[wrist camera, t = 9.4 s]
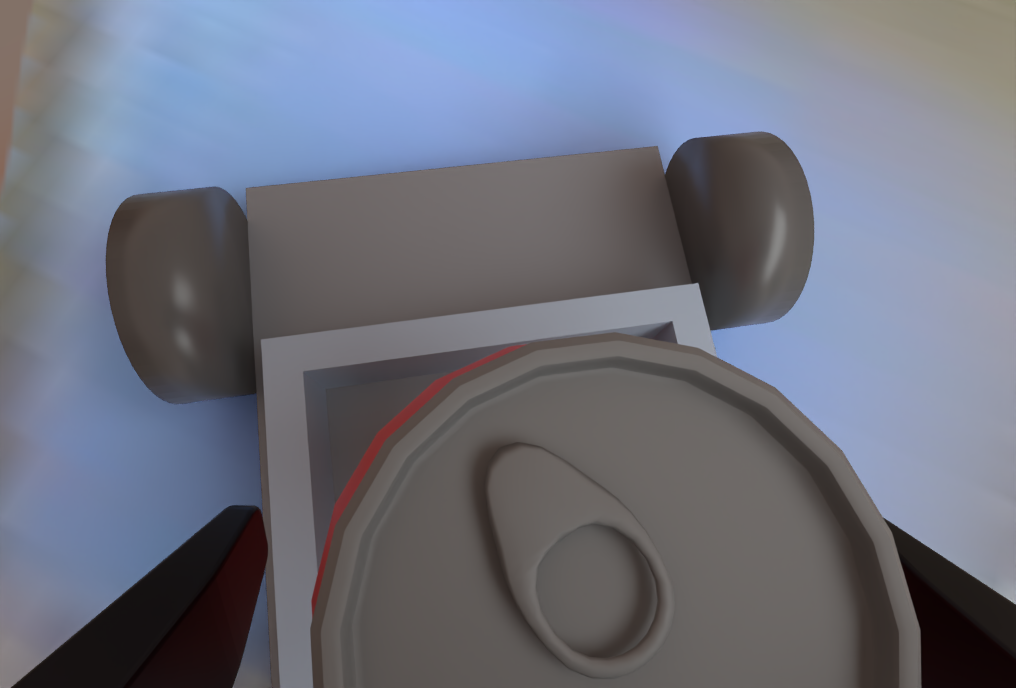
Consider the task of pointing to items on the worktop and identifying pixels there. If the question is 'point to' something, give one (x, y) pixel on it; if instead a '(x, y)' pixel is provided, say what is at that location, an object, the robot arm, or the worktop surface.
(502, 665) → the beer can
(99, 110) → the worktop surface
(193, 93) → the worktop surface
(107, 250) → the chassis
